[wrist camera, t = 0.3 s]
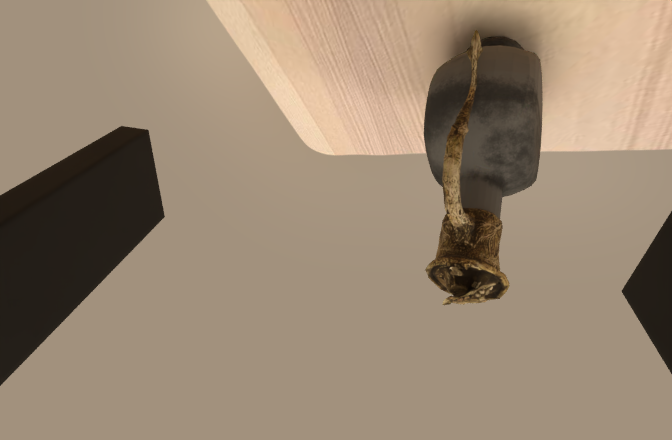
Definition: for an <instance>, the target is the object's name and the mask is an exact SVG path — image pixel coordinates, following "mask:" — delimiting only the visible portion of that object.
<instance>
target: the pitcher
mask: <svg viewBox="0 0 672 440" xmlns="http://www.w3.org/2000/svg"><path fill="white" fill-rule="evenodd" d="M541 132H542V73H541V64H540V59H539V58H538V56H537V55H536V54H535V53H532V52H529V51H526V50H524V49H523V48H522V47H521V46H520V45H519V44H518V43H517V42H516V41H513V40H511V39H508V38H506V37H490V38H487V39H484V40H481V41H480V37H479V34H478V31H477V30H476V31H475V33H474V36H473V38H472V41H471V47H470V48H469V49H468V50H467V52H465V53H462V54H460V55H458V56H455V57H454V58H452V59H451V60H449V61H447V62H446V63H444V64H443V65H442V66H441V67H439V68H438V70H437V71H436V73H435V74H434V77H433V79H432V81H431V84H430V88H429V92H428V97H427V103H426V110H425V120H424V140H425V147H426V152H427V157H428V161H429V164H430V168H431V171H432V174H433V175H434V177H435V179H436V181H437V182H438V183H439V184H440V185H441V186H442V187H443V192H444V204H445V210H446V212H447V214H446V215H445V217H444V219H443V222H442V229H441V233H440V238H439V246H438V251H437V255H436V259H435V260H433V261H432V262H431V263H430V264H429V265H428V266H427V268H426V272H427V274H428V277H429V279H431V281H433V282H434V283H435V284H436V285H437V286H438V287H439V288H440V289H441V290H443V291H446V292H448V293H450V294H452V295H454V297H453V296H450V297H448V298H446V299H445V300H444V302H443V305H447V304H450V303H452V302H453V303H457V304H465V303H481V302H486V301H487V300H490V299H500V297H502V296H503V295H504V294H505V292H506V291H507V290H508V288H509V282H508V280H507V277H506V275H505V274H504V273H502V272H500V267H499V255H498V254H499V243H500V238H501V233H502V221H501V220H500V212H501V203H502V197H504V196H509V195H512V194H515V193H517V192H520V191H522V190H525V189H526V188H528V187H530V186H532V184H533V183H534V182H535V181H536V178H537V172H538V166H539V158H540V147H541Z"/></svg>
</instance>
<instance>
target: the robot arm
mask: <svg viewBox="0 0 672 440" xmlns="http://www.w3.org/2000/svg"><path fill="white" fill-rule="evenodd" d="M164 217H165V216H164V211H163V206H162V201H161V195H160V190H159V185H158V179H157V174H156V168H155V163H154V158H153V153H152V147H151V142H150V136H149V131H148V130H145V129H137V128H130V127H124V126H121V127H119V128H117V129H116V130H114V131H112V132H110V133H109V134H107V135H105V136H103V137H102V138H100V139H98V140H96V141H95V142H93V143H91V144H90V145H88V146H86V147H84V148H82V149H81V150H79V151H77V152H75V153H74V154H72V155H70V156H68V157H67V158H65V159H63V160H62V161H60V162H58V163H56V164H54V165H53V166H51V167H49V168H47V169H46V170H44V171H42V172H40V173H39V174H37V175H35V176H33V177H32V178H30V179H28V180H27V181H25V182H23V183H21V184H20V185H18V186H16V187H14V188H12V189H11V190H9V191H7V192H6V193H4V194H2V195H0V386H1V384H2V383H3V382H4V381H5V380H6V379H7V378H8V377H9V376H10V375H11V374H12V373H13V372H14V371H15V370H16V369H17V368H18V367H19V366H20V365H21V364H22V363H23V362H24V361H25V360H26V359H27V358H28V357H29V356H30V355H31V354H32V353H33V352H34V351H35V349H37V347H38V346H39V345H40V344H41V343H42V342H43V341H44V340H45V339H46V338H47V337H48V336H49V335H50V334H51V333H52V332H53V331H54V330H55V329H56V328H57V327H58V326H59V325H60V324H61V323H62V322H63V321H64V320H65V319H66V318H67V317H68V316H69V315H70V314H71V313H72V312H73V310H74V309H75V308H76V307H77V306H78V305H79V304H80V303H81V302H82V301H83V300H84V299H85V298H86V297H87V296H88V295H89V294H90V293H91V292H92V291H93V290H94V289H95V288H96V287H97V286H98V285H99V284H100V283H101V282H102V281H103V280H104V279H105V278H106V276H107V275H108V274H109V273H110V272H111V271H112V270H113V269H114V268H115V267H116V266H117V265H118V264H119V263H120V262H121V261H122V260H123V259H124V258H125V257H126V256H127V255H128V254H129V253H130V252H131V251H132V250H133V249H134V248H135V247H136V246H137V245H138V244H139V243H140V241H142V240H143V239H144V237H145V236H146V235H147V234H148V233H149V232H150V231H151V230H152V229H153V228H154V227H155V226H156V225H157V224H158V223H159V222H160V221H161V220H162V219H163V218H164ZM622 293H623V295H624V296H625V298H626V299H627V301H628V303H629V304H630V306H631V308H632V309H633V311H634V313H635V314H636V316H637V318H638V319H639V321H640V323H641V324H642V326H643V327H644V329H645V331H646V332H647V334H648V336H649V337H650V339H651V341H652V342H653V344H654V346H655V347H656V349H657V351H658V352H659V354H660V355H661V357H662V359H663V360H664V362H665V364H666V365H667V367H668V369H669V370H670V372H671V374H672V212H671V213H670V215H669V216H668V218H667V219H666V221H665V223H664V224H663V226H662V227H661V229H660V231H659V232H658V234H657V235H656V237H655V239H654V241H653V242H652V243H651V245H650V247H649V248H648V250H647V252H646V253H645V255H644V256H643V258H642V259H641V261H640V263H639V264H638V266H637V267H636V269H635V271H634V272H633V274H632V276H631V277H630V279H629V280H628V282H627V283H626V285H625V286H624V288H623V290H622Z"/></svg>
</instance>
